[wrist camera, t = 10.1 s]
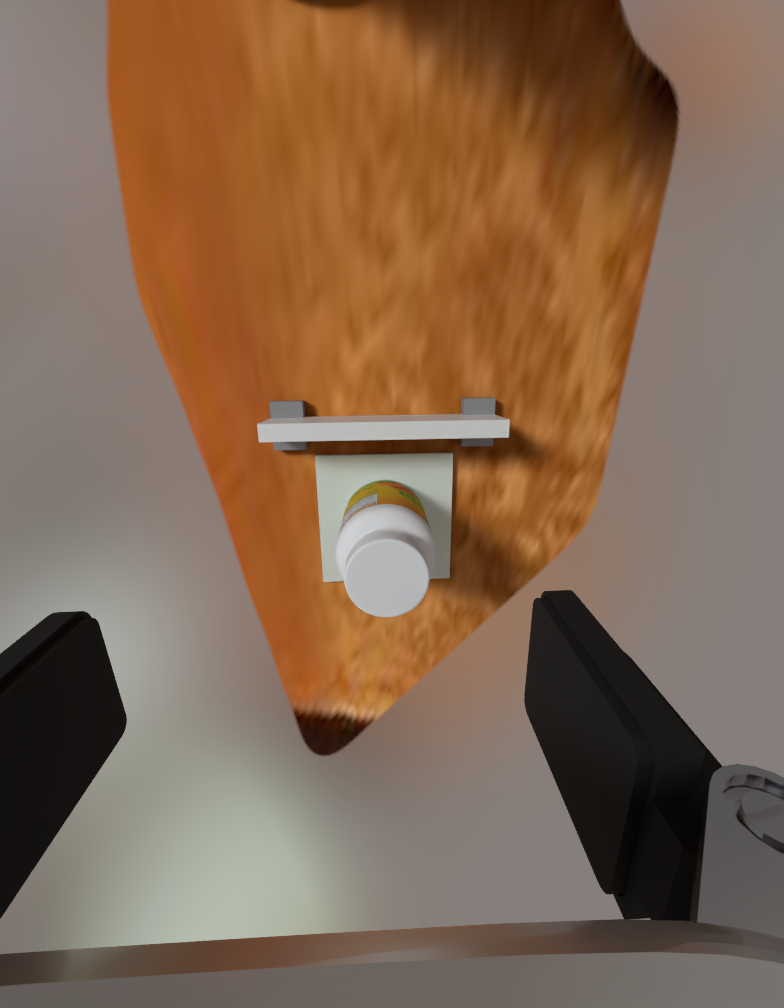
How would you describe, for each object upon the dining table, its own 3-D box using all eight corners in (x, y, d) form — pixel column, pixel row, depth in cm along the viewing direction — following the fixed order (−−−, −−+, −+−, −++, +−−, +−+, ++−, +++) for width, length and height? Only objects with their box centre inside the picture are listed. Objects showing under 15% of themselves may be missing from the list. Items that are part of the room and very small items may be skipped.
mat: (315, 455, 28) (314, 456, 28) (452, 452, 28) (453, 453, 28) (324, 579, 31) (323, 581, 30) (448, 575, 31) (449, 578, 31)
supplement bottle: (439, 525, 29) (468, 591, 20) (375, 567, 30) (374, 651, 21) (393, 461, 28) (401, 501, 19) (328, 508, 29) (304, 568, 19)
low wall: (272, 400, 27) (255, 405, 23) (492, 397, 27) (510, 401, 24) (276, 448, 28) (260, 459, 24) (489, 444, 28) (507, 455, 24)
